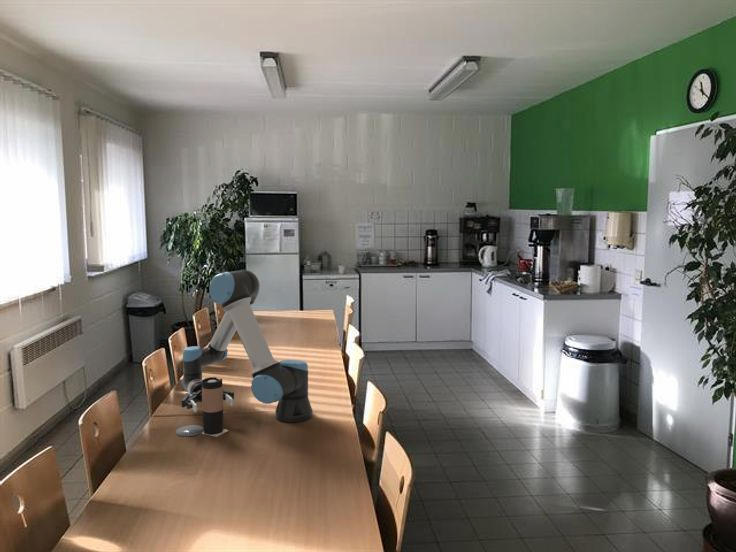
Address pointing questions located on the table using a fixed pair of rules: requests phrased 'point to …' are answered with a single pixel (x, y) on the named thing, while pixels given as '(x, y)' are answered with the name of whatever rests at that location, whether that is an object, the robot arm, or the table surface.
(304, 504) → the table surface
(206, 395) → the travel mug
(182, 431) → the slate coaster
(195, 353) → the robot arm
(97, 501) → the table surface
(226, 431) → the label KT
